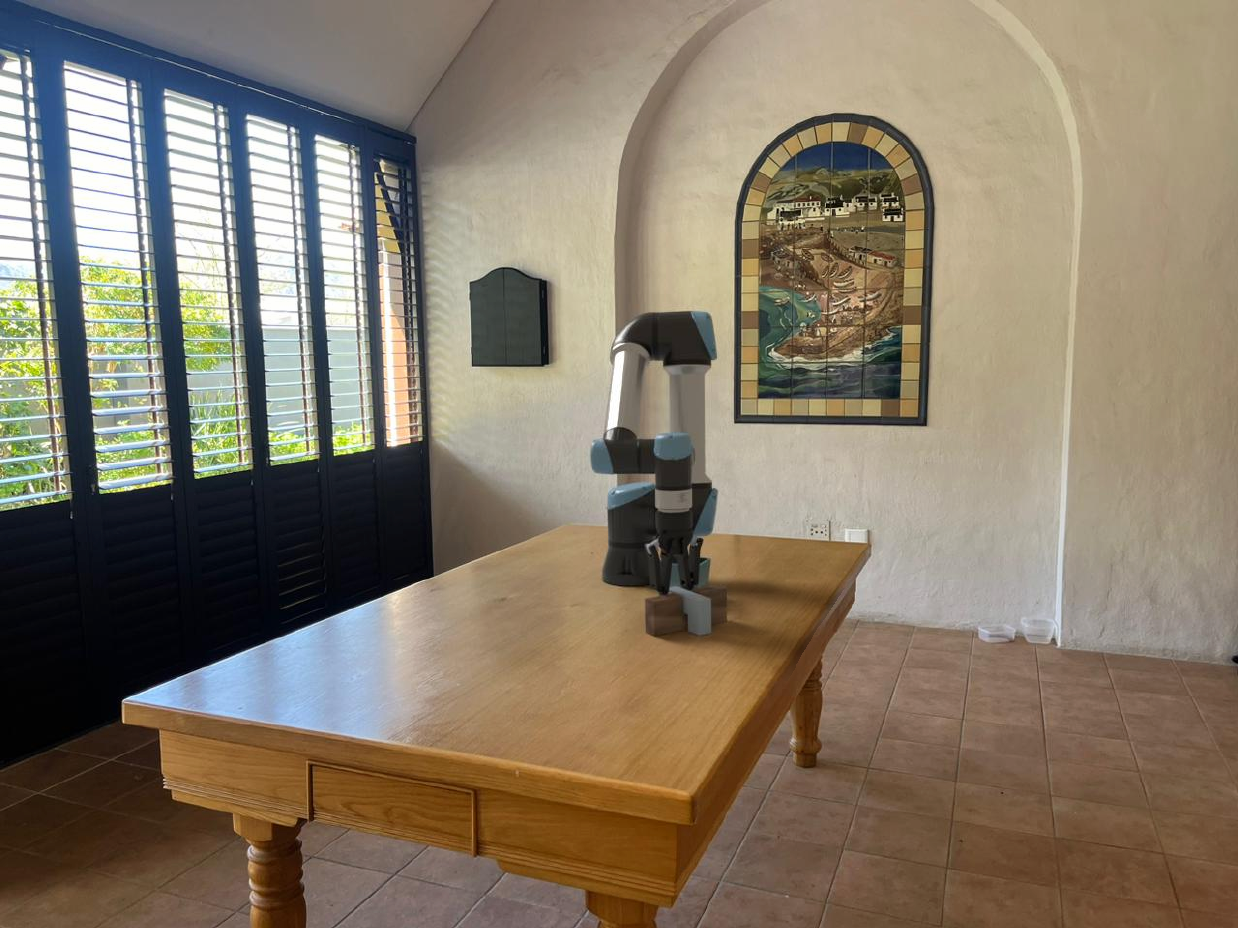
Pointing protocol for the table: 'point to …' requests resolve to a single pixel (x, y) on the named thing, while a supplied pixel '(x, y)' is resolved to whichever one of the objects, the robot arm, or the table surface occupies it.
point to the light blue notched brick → (695, 610)
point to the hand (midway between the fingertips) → (675, 621)
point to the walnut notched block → (668, 614)
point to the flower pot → (702, 573)
